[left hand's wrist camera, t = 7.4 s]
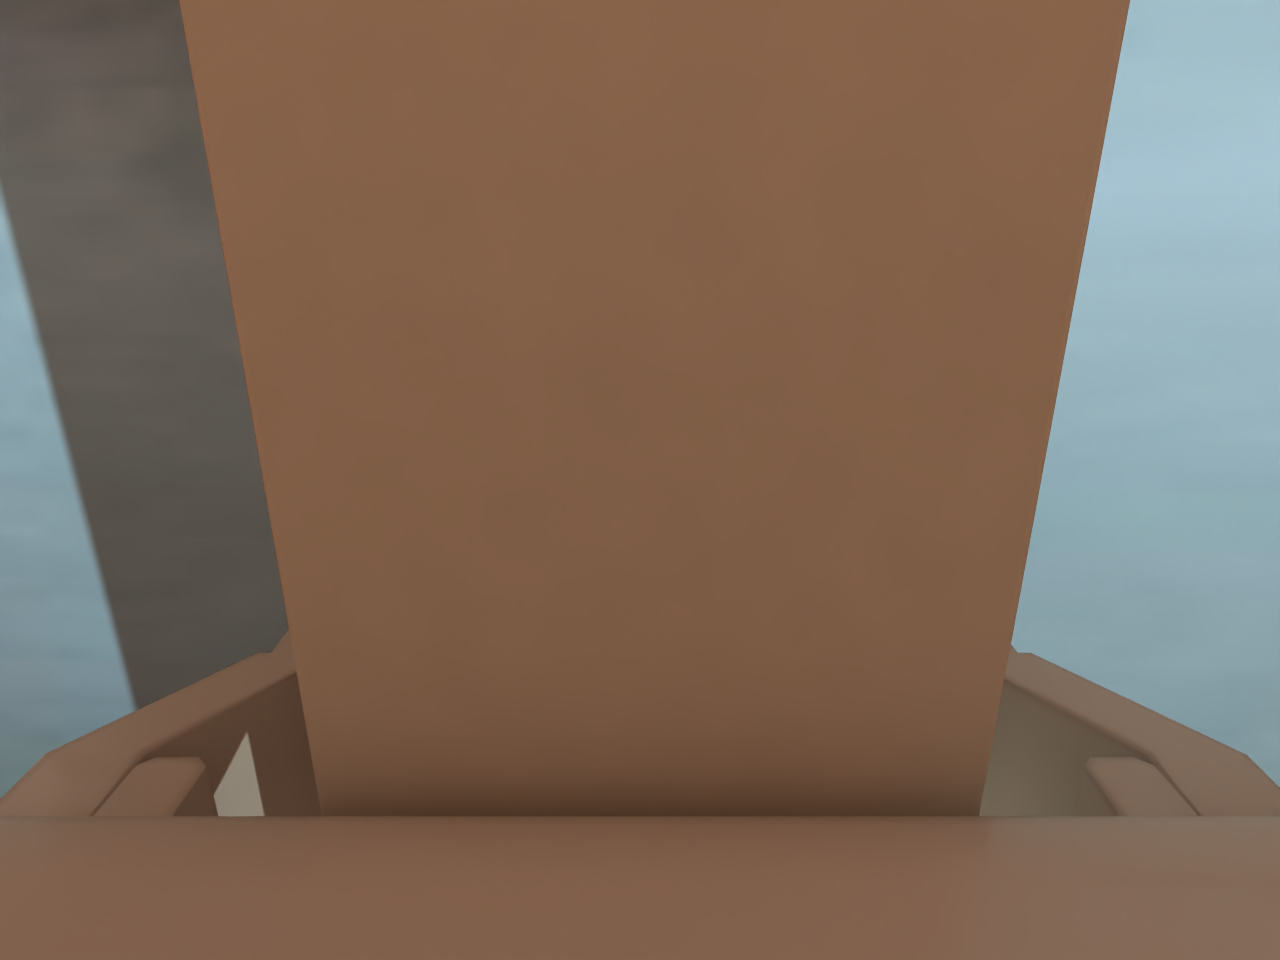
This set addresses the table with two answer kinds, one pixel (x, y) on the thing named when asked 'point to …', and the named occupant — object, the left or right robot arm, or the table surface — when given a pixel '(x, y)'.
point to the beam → (652, 383)
